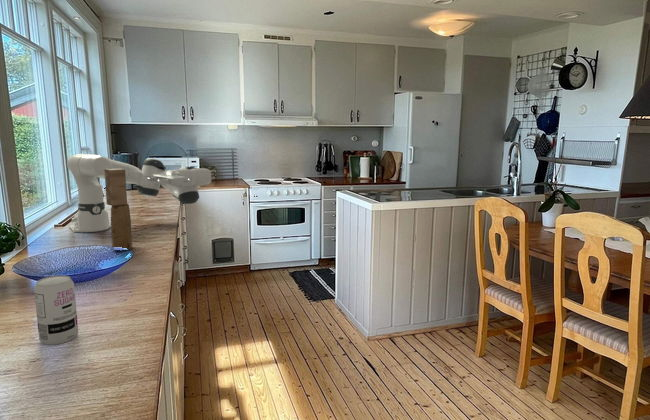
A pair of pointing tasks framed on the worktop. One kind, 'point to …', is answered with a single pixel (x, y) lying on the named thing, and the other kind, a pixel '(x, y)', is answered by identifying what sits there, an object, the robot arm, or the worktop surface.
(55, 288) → the supplement can
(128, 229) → the block
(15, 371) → the worktop surface
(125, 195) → the walnut block
